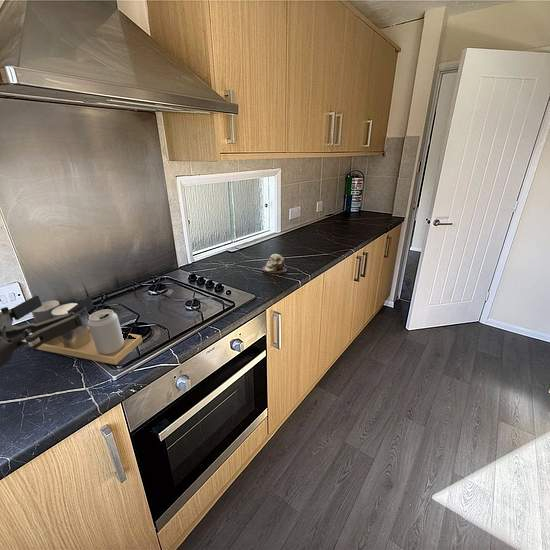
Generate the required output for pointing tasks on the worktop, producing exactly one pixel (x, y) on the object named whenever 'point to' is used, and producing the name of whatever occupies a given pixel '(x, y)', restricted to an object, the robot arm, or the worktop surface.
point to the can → (106, 331)
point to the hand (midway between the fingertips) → (64, 301)
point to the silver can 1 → (46, 317)
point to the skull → (275, 264)
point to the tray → (91, 352)
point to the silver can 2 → (75, 336)
